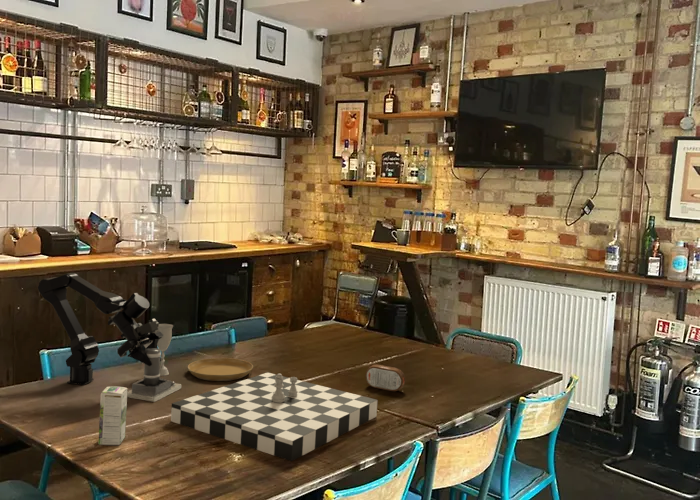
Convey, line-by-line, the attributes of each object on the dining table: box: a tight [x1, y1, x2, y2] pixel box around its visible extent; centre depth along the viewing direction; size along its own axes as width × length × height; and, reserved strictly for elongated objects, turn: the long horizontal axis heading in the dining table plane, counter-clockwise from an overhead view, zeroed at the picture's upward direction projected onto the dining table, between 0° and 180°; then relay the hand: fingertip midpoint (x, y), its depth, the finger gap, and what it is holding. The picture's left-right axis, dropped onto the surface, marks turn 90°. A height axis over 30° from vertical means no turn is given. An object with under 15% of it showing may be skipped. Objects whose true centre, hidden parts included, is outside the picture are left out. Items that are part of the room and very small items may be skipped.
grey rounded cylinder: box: [143, 348, 162, 384], centre depth 220 cm, size 5×5×11 cm
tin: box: [364, 363, 406, 392], centre depth 241 cm, size 15×3×8 cm, turn 65°
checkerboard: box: [170, 372, 378, 462], centre depth 204 cm, size 45×45×15 cm
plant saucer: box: [187, 357, 254, 382], centre depth 249 cm, size 24×24×3 cm
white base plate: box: [127, 377, 182, 403], centre depth 222 cm, size 11×16×4 cm
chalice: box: [154, 323, 174, 377], centre depth 244 cm, size 7×7×18 cm
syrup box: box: [98, 385, 128, 446], centre depth 179 cm, size 6×6×14 cm
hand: (155, 363), depth 220 cm, fingers closed on grey rounded cylinder, 5 cm apart
